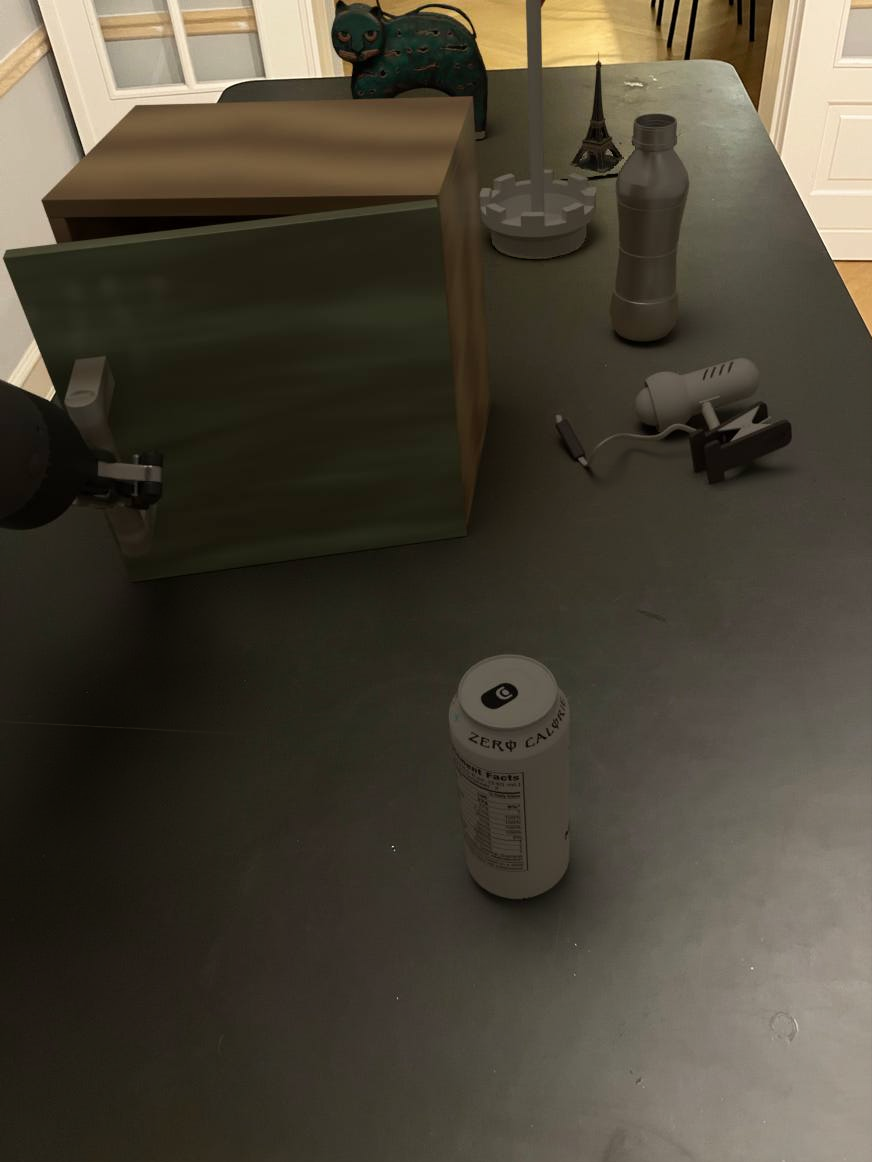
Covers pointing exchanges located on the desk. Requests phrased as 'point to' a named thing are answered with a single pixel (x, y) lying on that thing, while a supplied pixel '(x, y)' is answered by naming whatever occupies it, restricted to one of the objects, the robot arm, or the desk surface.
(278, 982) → the desk surface
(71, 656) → the desk surface
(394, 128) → the cupboard
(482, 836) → the energy drink can
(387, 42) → the ceramic cat
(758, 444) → the clip-on lamp
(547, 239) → the flag stand
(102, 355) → the cupboard door
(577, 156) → the eiffel tower figurine
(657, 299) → the plastic bottle
